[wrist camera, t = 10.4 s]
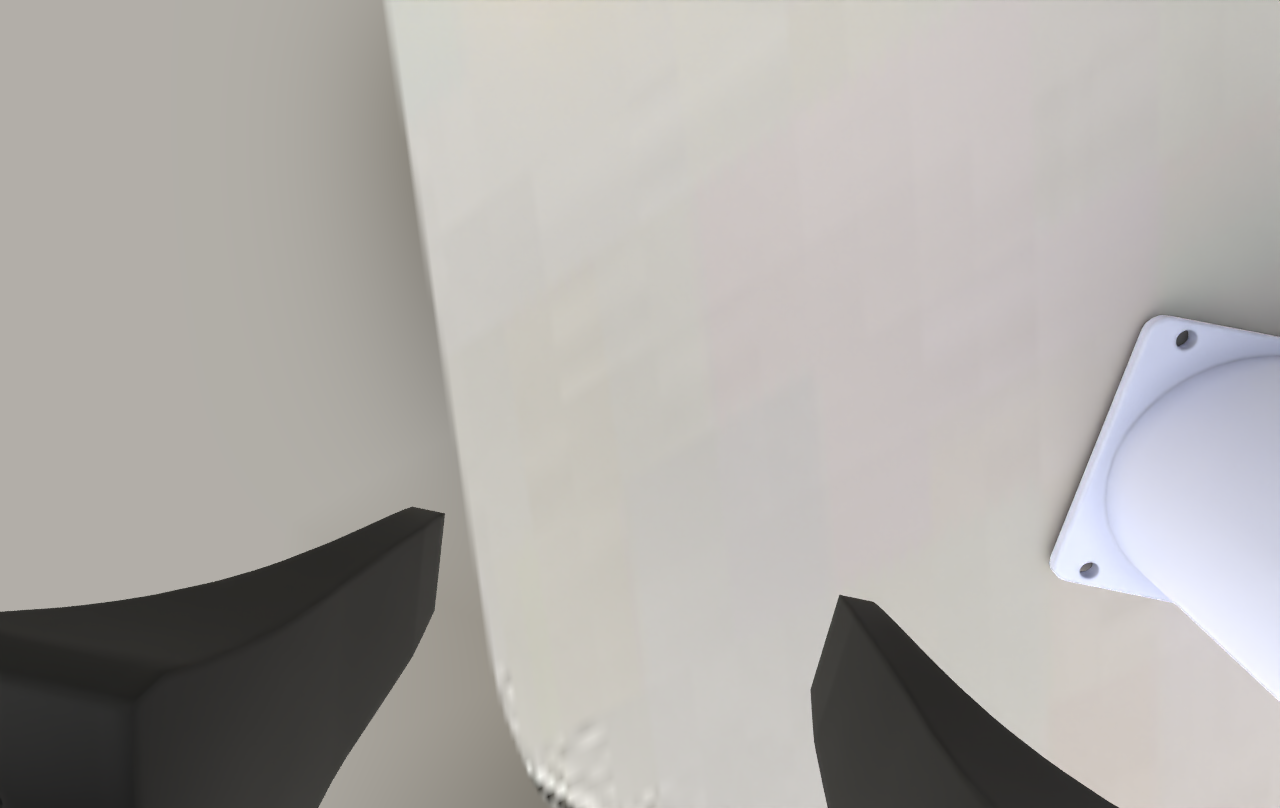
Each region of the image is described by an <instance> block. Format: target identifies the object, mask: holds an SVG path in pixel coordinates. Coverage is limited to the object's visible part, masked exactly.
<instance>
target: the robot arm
mask: <svg viewBox="0 0 1280 808" xmlns="http://www.w3.org/2000/svg"><path fill="white" fill-rule="evenodd" d="M1185 330H1187V331H1188V333H1189V334H1188V339H1187V340H1186V342H1185V343H1184V344H1182V345H1180V346H1177V344H1176V339H1177V337H1178V335H1179V334H1180V333H1181V332H1183V331H1185ZM444 515H445V514H444V513H440V512H435V511H430V510H425V509H420V508H416V507H410V508H407V509H404V510H402V511H400V512H397V513H395V514H393V515H390V516H388V517H386V518H384V519H381V520H379V521H377V522H375V523H373V524H370V525H368V526H366V527H364V528H362V529H359V530H357V531H355V532H352V533H350V534H348V535H346V536H344V537H341V538H339V539H337V540H335V541H332V542H330V543H327V544H325V545H322V546H320V547H317V548H315V549H312V550H309V551H307V552H305V553H302V554H299V555H297V556H294V557H291V558H289V559H286V560H284V561H281V562H278V563H275V564H273V565H270V566H267V567H263V568H261V569H257V570H255V571H251V572H247V573H244V574H240V575H237V576H234V577H230V578H227V579H223V580H220V581H215V582H211V583H207V584H202V585H198V586H193V587H188V588H184V589H179V590H175V591H170V592H165V593H161V594H156V595H150V596H145V597H139V598H132V599H126V600H120V601H112V602H105V603H97V604H89V605H81V606H71V607H62V608H50V609H49V608H48V609H34V610H20V611H5V612H0V808H318V807H319V805H320V803H321V801H322V799H323V797H324V795H325V793H326V792H327V789H328V788H329V786H330V784H331V782H332V780H333V779H334V777H335V775H336V774H337V772H338V770H339V769H340V767H341V765H342V764H343V762H344V760H345V759H346V757H347V755H348V754H349V752H350V751H351V749H352V748H353V746H354V745H355V743H356V742H357V740H358V739H359V737H360V736H361V734H362V733H363V731H364V730H365V728H366V727H367V725H368V724H369V722H370V721H371V719H372V717H373V716H374V715H375V713H376V711H377V710H378V708H379V707H380V705H381V704H382V703H383V701H384V699H385V698H386V696H387V695H388V693H389V692H390V690H391V689H392V687H393V686H394V684H395V683H396V681H397V680H398V678H399V677H400V675H401V674H402V672H403V670H404V669H405V667H406V666H407V664H408V663H409V661H410V659H411V658H412V656H413V654H414V652H415V650H416V648H417V646H418V644H419V642H420V640H421V638H422V636H423V633H424V632H425V630H426V627H427V625H428V623H429V621H430V619H431V617H432V614H433V612H434V609H435V600H436V591H437V582H438V572H439V563H440V554H441V544H442V535H443V526H444ZM1090 562H1092V566H1091V567H1090V569H1088V570H1086V571H1080V568H1081V567H1082V566H1083V565H1084V564H1086V563H1090ZM1049 565H1050V568H1051V570H1052V571H1053V572H1054V573H1055V574H1056V575H1057V576H1058V577H1059V578H1060V579H1062V580H1065V581H1069V582H1074V583H1079V584H1084V585H1088V586H1093V587H1098V588H1103V589H1108V590H1113V591H1118V592H1123V593H1128V594H1133V595H1138V596H1142V597H1147V598H1152V599H1157V600H1162V601H1167V602H1172V603H1175V604H1176V605H1177V606H1178V607H1179V608H1180V609H1181V610H1182V611H1183V612H1184V613H1185V614H1186V615H1187V616H1189V617H1190V618H1191V619H1192V620H1193V621H1194V622H1195V623H1196V624H1197V625H1198V626H1199V627H1200V628H1201V629H1202V630H1203V631H1205V632H1206V633H1207V634H1208V635H1209V636H1210V637H1211V638H1212V639H1213V640H1214V641H1215V642H1216V643H1217V644H1218V645H1220V646H1221V647H1222V648H1223V649H1224V650H1225V651H1226V652H1227V653H1228V654H1229V655H1230V656H1231V657H1232V658H1233V659H1234V660H1236V661H1237V662H1238V663H1239V664H1240V665H1241V666H1242V667H1243V668H1244V669H1245V670H1246V671H1247V672H1248V673H1249V674H1251V675H1252V676H1253V677H1254V678H1255V679H1256V680H1257V681H1258V682H1259V683H1260V684H1261V685H1262V686H1263V687H1264V688H1265V689H1267V690H1268V691H1269V692H1270V693H1271V694H1272V695H1273V696H1274V697H1275V698H1276V699H1277V700H1278V701H1279V702H1280V337H1279V336H1274V335H1269V334H1263V333H1258V332H1253V331H1248V330H1243V329H1237V328H1232V327H1227V326H1222V325H1217V324H1211V323H1206V322H1201V321H1196V320H1190V319H1185V318H1180V317H1175V316H1170V315H1159V316H1156V317H1153V318H1151V319H1150V320H1149V321H1148V322H1146V323H1145V325H1144V326H1143V328H1142V330H1141V332H1140V334H1139V337H1138V339H1137V342H1136V344H1135V347H1134V349H1133V352H1132V354H1131V357H1130V359H1129V362H1128V364H1127V367H1126V369H1125V372H1124V374H1123V377H1122V379H1121V382H1120V384H1119V387H1118V389H1117V392H1116V394H1115V397H1114V399H1113V402H1112V404H1111V407H1110V409H1109V412H1108V414H1107V417H1106V419H1105V422H1104V424H1103V427H1102V429H1101V432H1100V434H1099V437H1098V439H1097V442H1096V444H1095V447H1094V449H1093V452H1092V454H1091V457H1090V459H1089V462H1088V464H1087V467H1086V469H1085V472H1084V474H1083V477H1082V479H1081V482H1080V484H1079V487H1078V489H1077V492H1076V494H1075V497H1074V499H1073V502H1072V504H1071V507H1070V509H1069V512H1068V514H1067V517H1066V519H1065V522H1064V524H1063V527H1062V529H1061V532H1060V534H1059V537H1058V539H1057V542H1056V544H1055V547H1054V549H1053V552H1052V554H1051V556H1050V561H1049ZM811 704H812V720H813V732H814V743H815V748H816V753H817V758H818V763H819V768H820V773H821V778H822V783H823V788H824V792H825V797H826V802H827V806H828V808H1118V807H1117V806H1115V805H1113V804H1112V803H1110V802H1108V801H1107V800H1105V799H1104V798H1102V797H1101V796H1099V795H1098V794H1096V793H1095V792H1093V791H1092V790H1090V789H1089V788H1087V787H1086V786H1084V785H1083V784H1081V783H1080V782H1078V781H1077V780H1075V779H1074V778H1072V777H1071V776H1069V775H1068V774H1066V773H1065V772H1063V771H1062V770H1060V769H1059V768H1058V767H1056V766H1055V765H1054V764H1052V763H1051V762H1049V761H1048V760H1047V759H1045V758H1044V757H1042V756H1041V755H1040V754H1038V753H1037V752H1036V751H1035V750H1033V749H1032V748H1031V747H1030V746H1028V745H1027V744H1026V743H1024V742H1023V741H1022V740H1021V739H1019V738H1018V737H1017V736H1015V735H1014V734H1013V733H1012V732H1010V731H1009V730H1008V729H1006V728H1005V727H1004V726H1003V725H1002V724H1001V723H999V722H998V721H997V720H996V719H995V718H993V717H992V716H991V715H990V714H989V713H988V712H987V711H985V710H984V709H983V708H982V707H981V706H980V705H979V704H978V703H977V702H975V701H974V700H973V699H972V698H971V697H970V696H969V695H968V694H967V693H965V692H964V691H963V690H962V689H961V688H960V687H959V686H958V685H957V684H956V683H955V682H954V681H953V680H952V679H951V678H950V677H949V676H948V675H946V674H945V673H944V672H943V671H942V670H941V669H940V668H939V667H938V666H937V665H936V664H935V663H934V662H933V661H932V660H931V659H930V658H929V657H928V656H927V655H926V654H925V652H924V651H923V650H922V649H921V648H920V647H919V646H918V645H917V644H916V643H915V642H914V641H913V640H912V639H911V638H910V637H909V636H908V635H907V634H906V633H905V632H904V631H903V630H902V629H901V628H900V627H899V626H898V625H897V624H896V623H895V622H894V621H893V620H892V619H891V618H890V617H889V616H888V615H887V614H886V613H885V612H884V611H883V610H882V609H881V608H880V607H879V606H878V605H877V604H875V603H874V602H871V601H866V600H861V599H857V598H852V597H847V596H842V595H839V598H838V602H837V605H836V608H835V611H834V615H833V618H832V621H831V625H830V628H829V631H828V634H827V638H826V641H825V644H824V647H823V651H822V654H821V657H820V661H819V664H818V667H817V670H816V674H815V677H814V680H813V684H812V687H811Z"/></svg>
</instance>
